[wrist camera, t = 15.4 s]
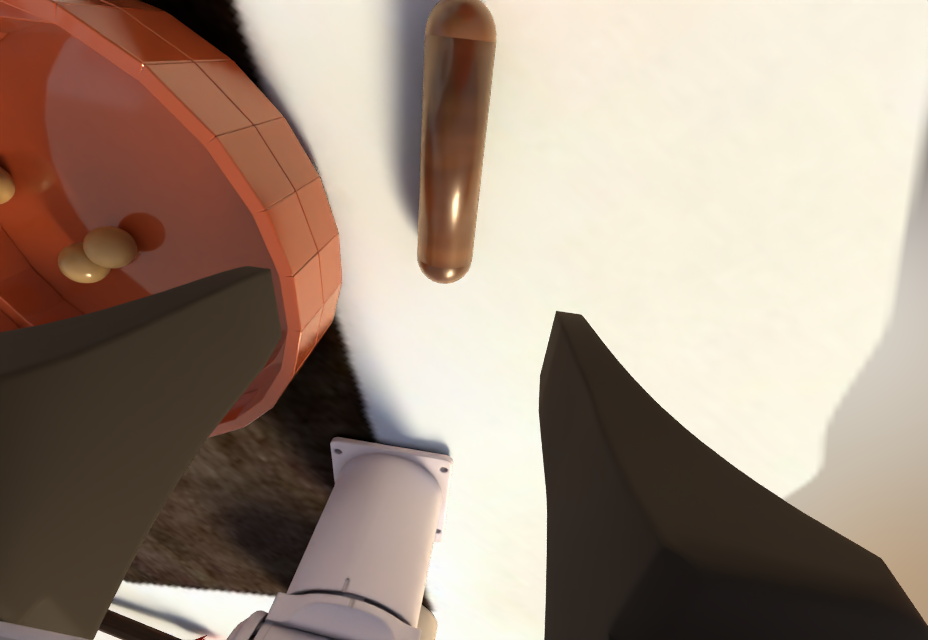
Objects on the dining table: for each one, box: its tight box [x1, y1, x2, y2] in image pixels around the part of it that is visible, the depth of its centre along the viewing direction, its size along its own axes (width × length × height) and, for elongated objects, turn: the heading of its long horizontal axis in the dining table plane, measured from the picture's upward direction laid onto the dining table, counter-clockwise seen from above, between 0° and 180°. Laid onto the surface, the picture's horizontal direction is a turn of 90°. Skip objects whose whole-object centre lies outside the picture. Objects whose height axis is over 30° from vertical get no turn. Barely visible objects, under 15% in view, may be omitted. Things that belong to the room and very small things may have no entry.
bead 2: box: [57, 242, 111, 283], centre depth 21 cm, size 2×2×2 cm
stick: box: [417, 0, 496, 284], centre depth 17 cm, size 10×2×2 cm, turn 175°
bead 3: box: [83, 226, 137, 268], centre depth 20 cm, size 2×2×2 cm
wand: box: [98, 610, 207, 640], centre depth 48 cm, size 4×4×30 cm
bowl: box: [0, 0, 342, 438], centre depth 19 cm, size 19×19×5 cm
